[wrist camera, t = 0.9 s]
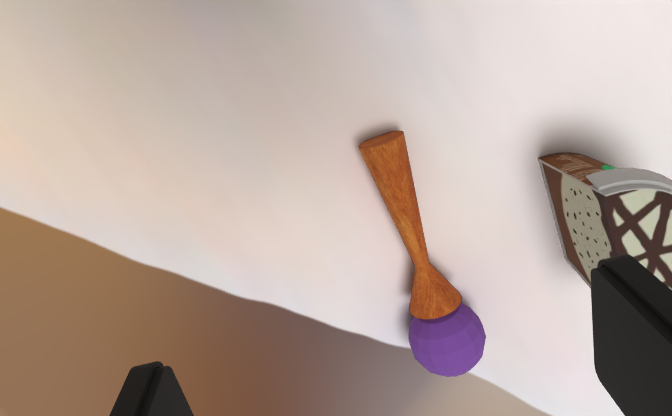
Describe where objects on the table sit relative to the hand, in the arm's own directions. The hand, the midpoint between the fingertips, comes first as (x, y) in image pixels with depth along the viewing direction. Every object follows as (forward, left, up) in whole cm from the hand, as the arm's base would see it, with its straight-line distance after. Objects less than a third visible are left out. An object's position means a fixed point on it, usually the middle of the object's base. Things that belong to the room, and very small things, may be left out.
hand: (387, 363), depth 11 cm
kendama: (+11, +8, -28) cm, 31 cm away
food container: (+6, +21, -28) cm, 35 cm away
